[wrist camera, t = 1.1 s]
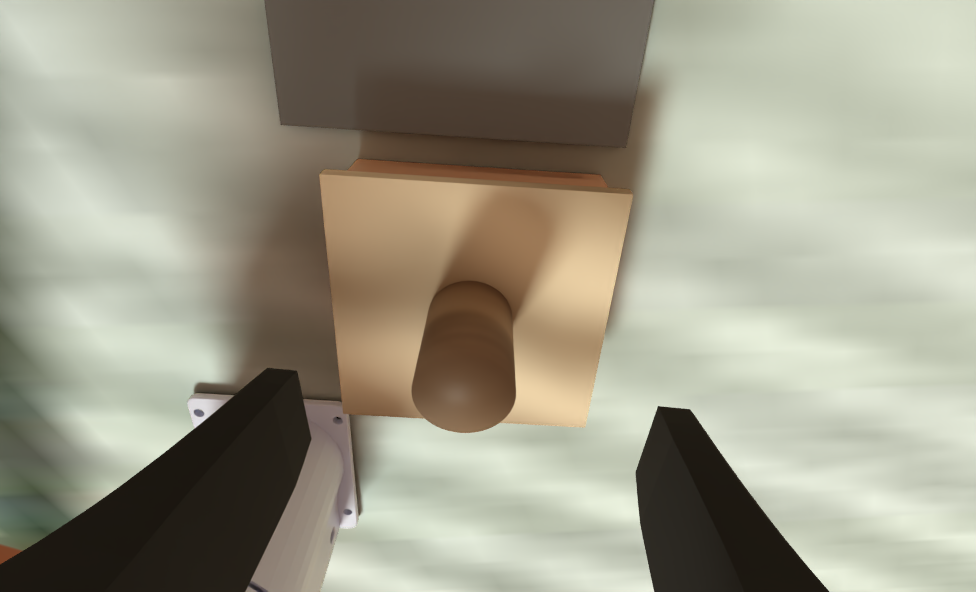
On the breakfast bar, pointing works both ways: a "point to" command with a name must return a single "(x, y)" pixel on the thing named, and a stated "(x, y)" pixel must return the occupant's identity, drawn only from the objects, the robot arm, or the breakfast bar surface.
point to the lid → (470, 295)
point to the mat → (461, 66)
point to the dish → (478, 172)
